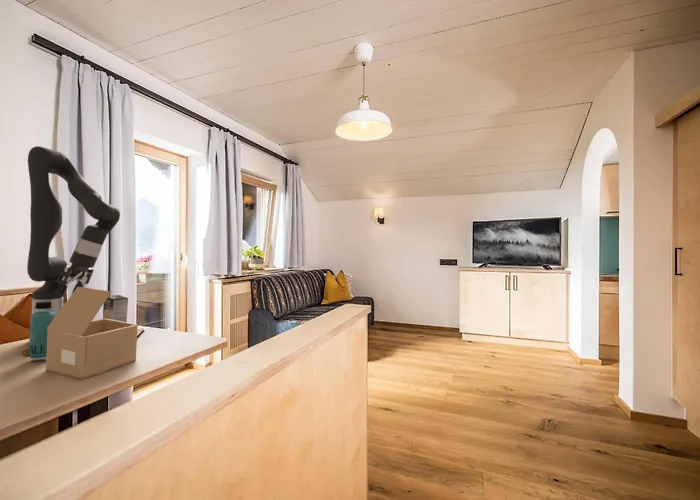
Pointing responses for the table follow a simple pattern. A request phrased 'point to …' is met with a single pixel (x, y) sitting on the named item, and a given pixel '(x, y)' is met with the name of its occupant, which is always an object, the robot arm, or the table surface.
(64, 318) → the carton flap
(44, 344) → the beverage bottle
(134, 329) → the carton
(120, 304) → the coffee box
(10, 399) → the table surface
